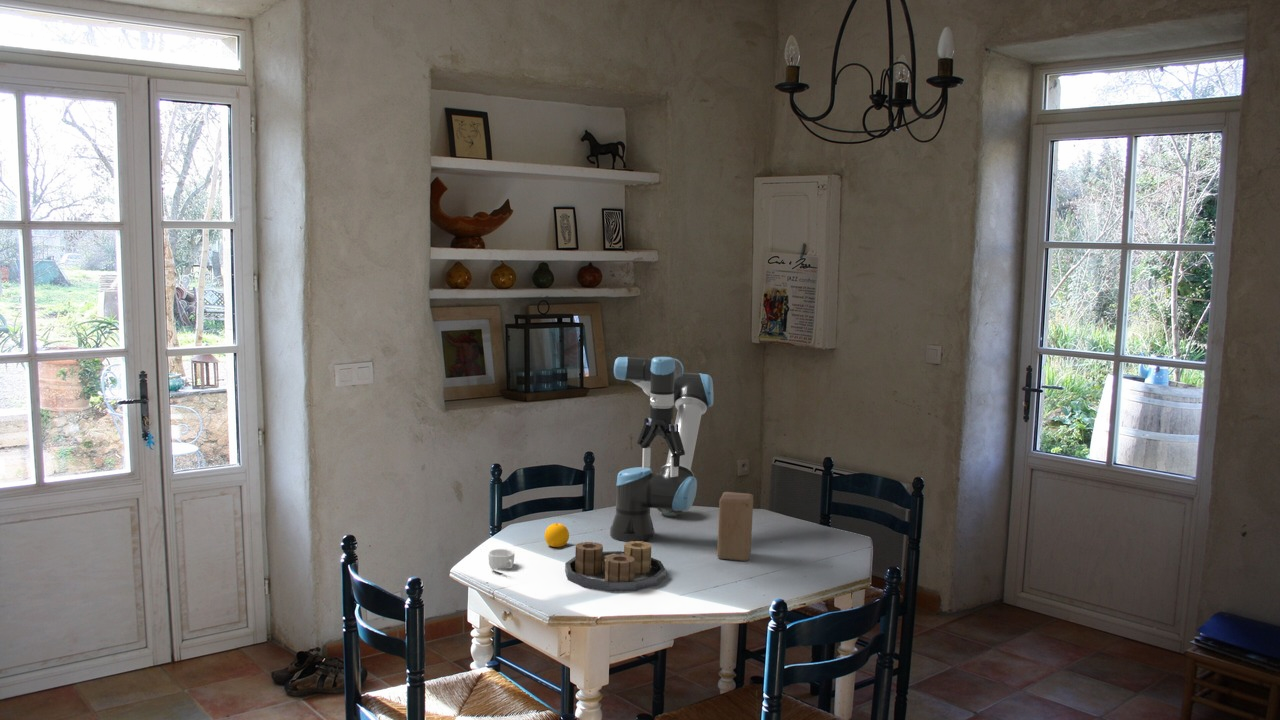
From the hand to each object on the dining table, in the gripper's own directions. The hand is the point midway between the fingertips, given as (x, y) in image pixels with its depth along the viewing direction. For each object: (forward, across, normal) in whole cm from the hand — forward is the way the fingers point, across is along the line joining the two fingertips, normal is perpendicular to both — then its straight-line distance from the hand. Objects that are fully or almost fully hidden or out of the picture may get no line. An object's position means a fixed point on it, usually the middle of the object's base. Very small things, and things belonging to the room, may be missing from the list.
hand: (659, 472), depth 313 cm
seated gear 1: (+25, +4, -31) cm, 40 cm away
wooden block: (+28, +15, +20) cm, 37 cm away
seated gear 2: (+25, +19, -30) cm, 43 cm away
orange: (+27, -26, -22) cm, 43 cm away
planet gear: (+25, +11, -18) cm, 33 cm away
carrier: (+26, +11, -26) cm, 39 cm away
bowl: (+29, -34, +36) cm, 57 cm away
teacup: (+26, -14, -49) cm, 58 cm away
